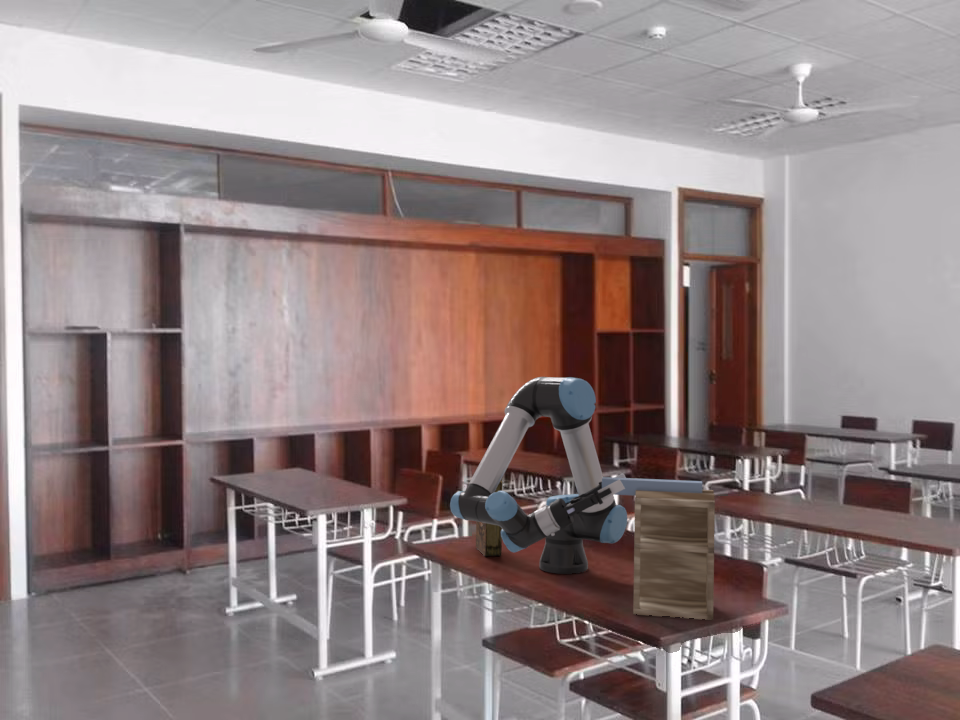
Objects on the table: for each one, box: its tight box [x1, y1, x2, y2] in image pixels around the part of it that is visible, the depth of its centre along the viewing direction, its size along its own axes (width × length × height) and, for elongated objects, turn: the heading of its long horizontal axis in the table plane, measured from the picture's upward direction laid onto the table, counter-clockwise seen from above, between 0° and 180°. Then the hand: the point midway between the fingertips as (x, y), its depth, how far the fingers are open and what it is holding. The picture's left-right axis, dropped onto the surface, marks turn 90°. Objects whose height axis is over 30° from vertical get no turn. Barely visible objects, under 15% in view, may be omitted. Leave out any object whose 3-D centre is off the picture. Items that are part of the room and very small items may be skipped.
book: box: [475, 480, 503, 557], centre depth 303 cm, size 16×6×25 cm, turn 12°
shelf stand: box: [632, 489, 716, 621], centre depth 236 cm, size 14×20×32 cm
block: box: [602, 476, 703, 497], centre depth 237 cm, size 4×26×4 cm, turn 77°
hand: (624, 480), depth 239 cm, fingers open, 13 cm apart
